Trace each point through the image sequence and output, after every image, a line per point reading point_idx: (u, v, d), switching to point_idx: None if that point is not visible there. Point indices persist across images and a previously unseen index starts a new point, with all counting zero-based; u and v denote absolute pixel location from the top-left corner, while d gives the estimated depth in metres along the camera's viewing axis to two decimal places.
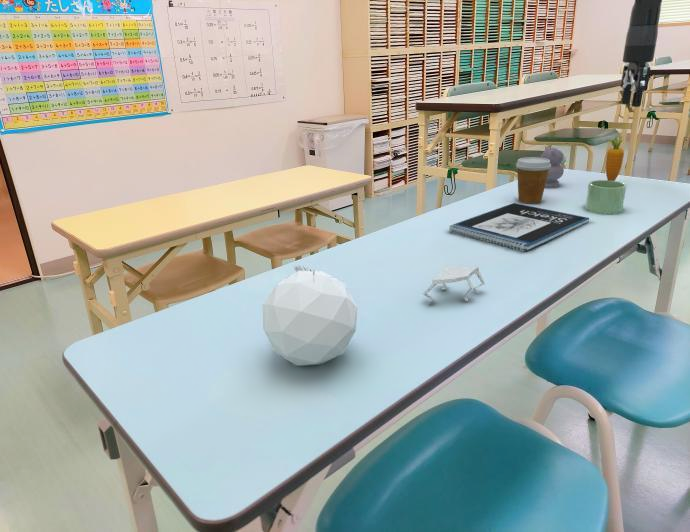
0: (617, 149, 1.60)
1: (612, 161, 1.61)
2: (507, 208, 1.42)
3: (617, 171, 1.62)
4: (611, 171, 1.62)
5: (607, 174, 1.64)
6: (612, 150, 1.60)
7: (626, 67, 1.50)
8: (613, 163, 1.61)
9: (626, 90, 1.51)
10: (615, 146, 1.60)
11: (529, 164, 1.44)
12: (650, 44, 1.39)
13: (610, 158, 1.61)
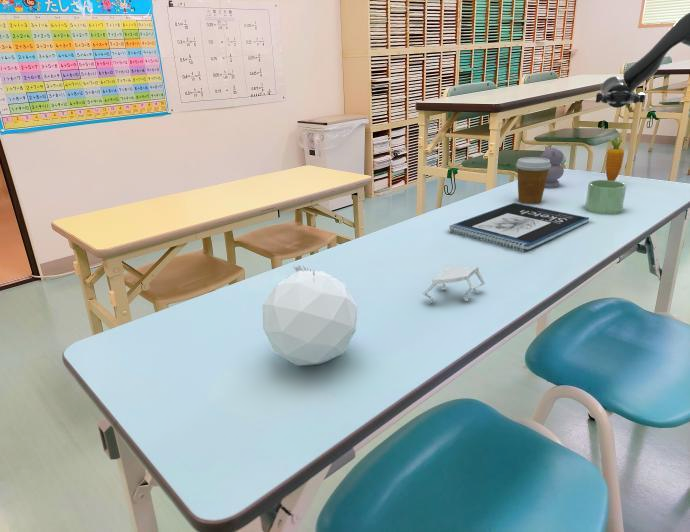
0: (617, 149, 1.60)
1: (612, 161, 1.61)
2: (507, 208, 1.42)
3: (617, 171, 1.62)
4: (611, 171, 1.62)
5: (607, 174, 1.64)
6: (612, 150, 1.60)
7: None
8: (613, 163, 1.61)
9: None
10: (615, 146, 1.60)
11: (529, 164, 1.44)
12: (607, 91, 1.80)
13: (610, 158, 1.61)
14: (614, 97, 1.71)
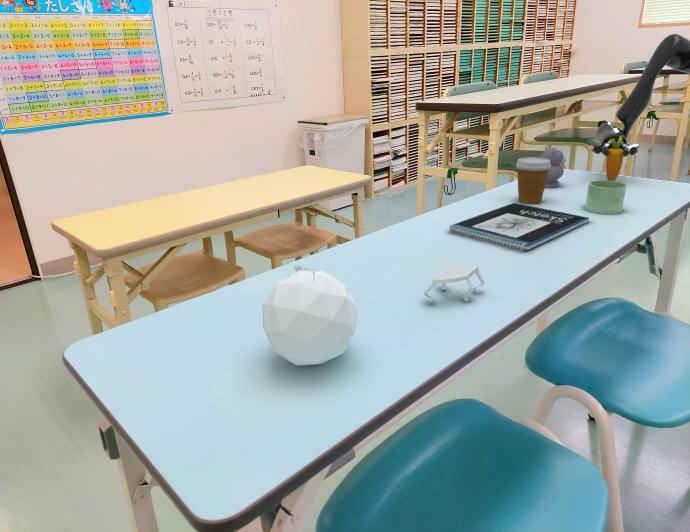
0: (617, 149, 1.60)
1: (612, 161, 1.61)
2: (507, 208, 1.42)
3: (617, 171, 1.62)
4: (611, 171, 1.62)
5: (607, 174, 1.64)
6: (612, 150, 1.60)
7: None
8: (613, 163, 1.61)
9: None
10: (615, 146, 1.60)
11: (529, 164, 1.44)
12: (602, 139, 1.74)
13: (610, 158, 1.61)
14: (609, 148, 1.66)
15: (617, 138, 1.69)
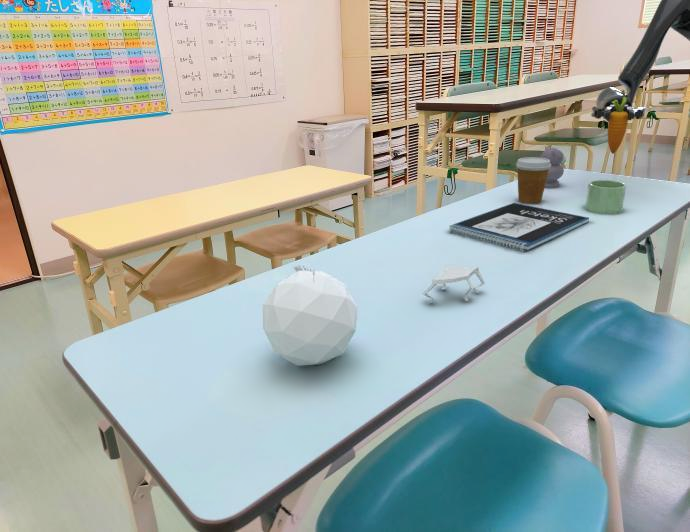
0: (621, 112, 1.40)
1: (615, 126, 1.40)
2: (507, 208, 1.42)
3: (621, 138, 1.42)
4: (613, 138, 1.42)
5: (609, 141, 1.43)
6: (615, 113, 1.40)
7: None
8: (615, 129, 1.41)
9: None
10: (618, 109, 1.40)
11: (529, 164, 1.44)
12: (604, 103, 1.54)
13: (613, 122, 1.41)
14: None
15: (621, 101, 1.48)
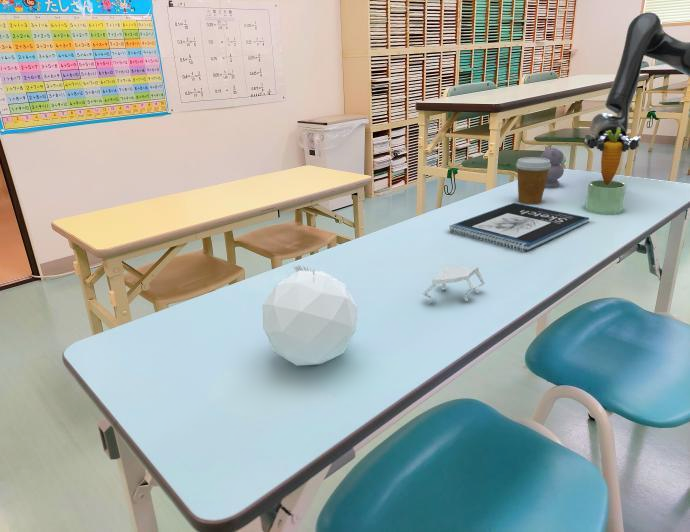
0: (614, 143, 1.34)
1: (609, 157, 1.35)
2: (507, 208, 1.42)
3: (615, 169, 1.36)
4: (607, 169, 1.36)
5: (602, 172, 1.38)
6: (608, 144, 1.34)
7: None
8: (609, 160, 1.35)
9: None
10: (612, 139, 1.34)
11: (529, 164, 1.44)
12: (598, 131, 1.48)
13: (606, 153, 1.35)
14: None
15: (615, 130, 1.42)
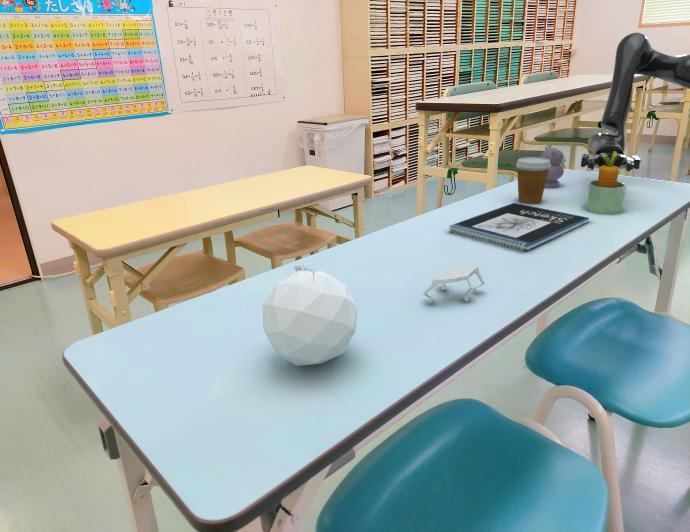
0: (611, 167, 1.36)
1: (605, 181, 1.37)
2: (507, 208, 1.42)
3: None
4: None
5: None
6: (605, 168, 1.37)
7: None
8: (605, 183, 1.37)
9: None
10: (608, 163, 1.36)
11: (529, 164, 1.44)
12: (595, 150, 1.50)
13: (603, 177, 1.37)
14: (603, 161, 1.41)
15: (612, 149, 1.44)
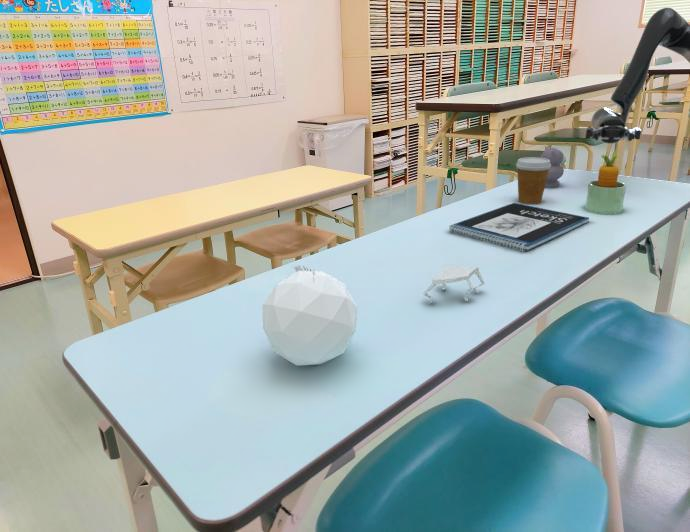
0: (611, 167, 1.36)
1: (605, 181, 1.37)
2: (507, 208, 1.42)
3: None
4: None
5: None
6: (605, 168, 1.37)
7: None
8: (605, 183, 1.37)
9: None
10: (608, 163, 1.36)
11: (529, 164, 1.44)
12: (599, 124, 1.60)
13: (603, 177, 1.37)
14: (606, 133, 1.52)
15: (615, 122, 1.54)
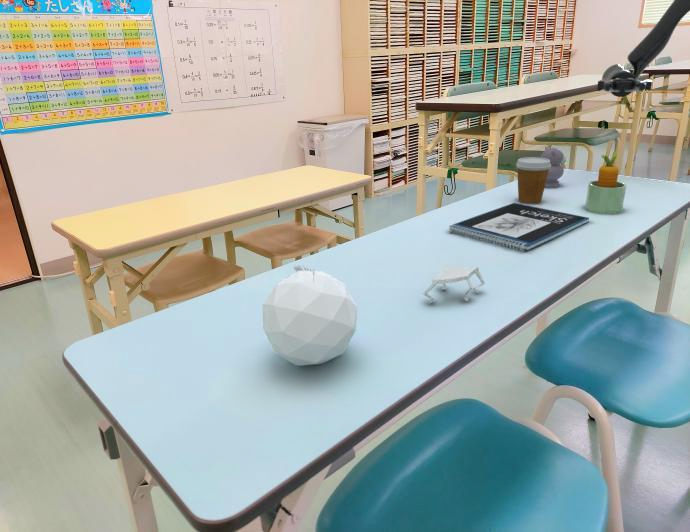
0: (611, 167, 1.36)
1: (605, 181, 1.37)
2: (507, 208, 1.42)
3: None
4: None
5: None
6: (605, 168, 1.37)
7: None
8: (605, 183, 1.37)
9: None
10: (608, 163, 1.36)
11: (529, 164, 1.44)
12: (610, 78, 1.62)
13: (603, 177, 1.37)
14: (617, 85, 1.54)
15: (626, 75, 1.57)
